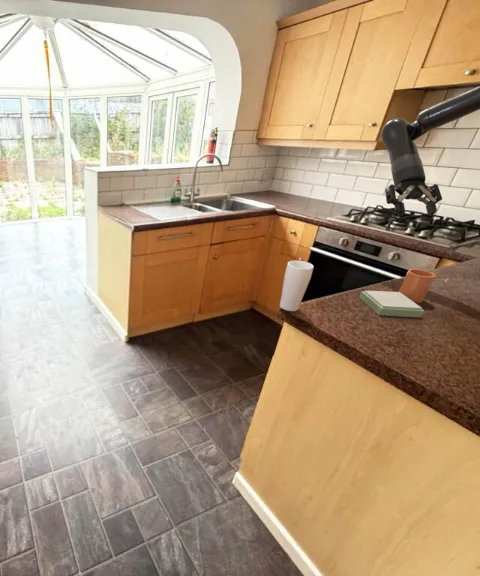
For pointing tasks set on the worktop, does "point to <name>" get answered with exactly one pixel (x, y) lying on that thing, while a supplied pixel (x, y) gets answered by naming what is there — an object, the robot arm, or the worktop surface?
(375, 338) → the worktop surface
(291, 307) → the drinking glass
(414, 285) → the cup
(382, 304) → the scale
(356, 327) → the worktop surface
